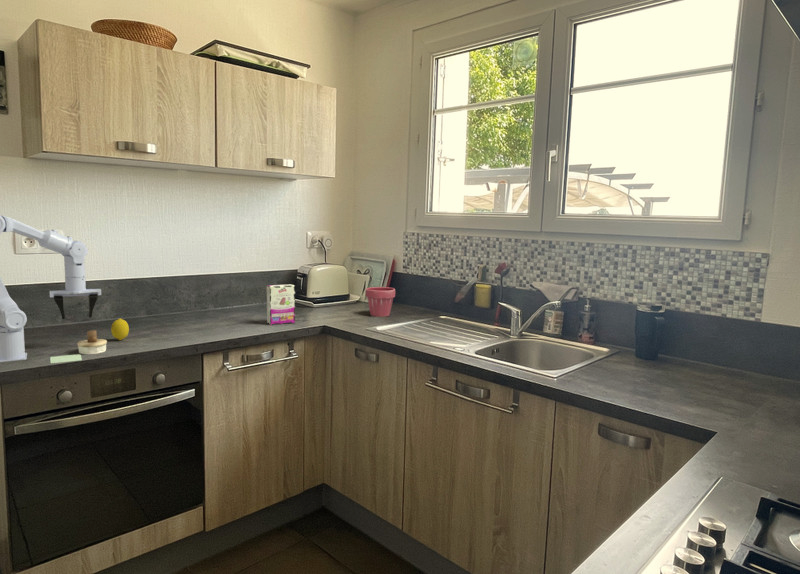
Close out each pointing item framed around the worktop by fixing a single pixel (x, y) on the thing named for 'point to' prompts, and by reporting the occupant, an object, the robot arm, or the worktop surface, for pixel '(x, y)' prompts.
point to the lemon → (120, 329)
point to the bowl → (92, 349)
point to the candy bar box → (280, 304)
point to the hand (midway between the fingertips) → (77, 317)
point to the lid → (92, 340)
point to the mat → (65, 358)
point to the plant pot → (380, 300)
